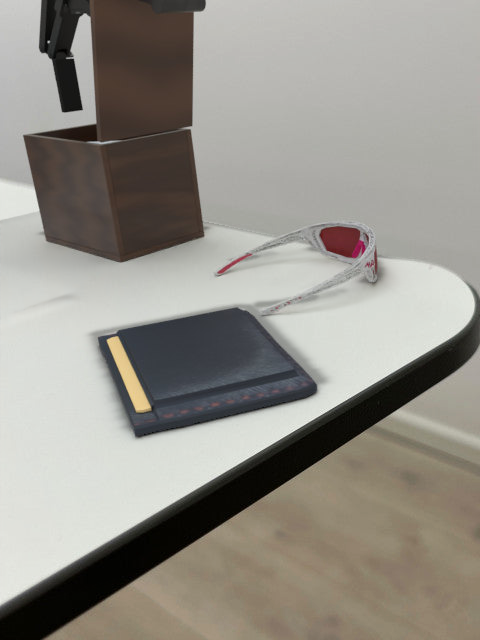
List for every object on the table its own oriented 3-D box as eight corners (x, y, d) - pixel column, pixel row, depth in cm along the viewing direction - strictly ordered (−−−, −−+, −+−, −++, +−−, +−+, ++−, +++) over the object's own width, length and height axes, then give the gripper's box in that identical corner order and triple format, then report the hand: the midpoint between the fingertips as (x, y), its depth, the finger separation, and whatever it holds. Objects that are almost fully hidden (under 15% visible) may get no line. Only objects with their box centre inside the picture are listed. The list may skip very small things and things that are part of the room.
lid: (87, -35, 80) (130, -21, 76) (190, -34, 89) (232, -22, 86) (97, 140, 90) (135, 159, 86) (188, 124, 99) (226, 141, 96)
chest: (46, 241, 106) (22, 134, 100) (128, 219, 115) (111, 120, 109) (120, 262, 96) (99, 145, 90) (204, 236, 105) (191, 129, 99)
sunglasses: (411, 284, 84) (403, 241, 81) (271, 343, 78) (259, 299, 76) (340, 246, 98) (332, 209, 95) (217, 294, 92) (205, 255, 89)
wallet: (319, 374, 61) (122, 418, 55) (320, 395, 61) (126, 440, 56) (250, 296, 77) (94, 324, 72) (252, 314, 78) (98, 342, 73)
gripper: (-13, -68, 94) (24, 111, 103) (105, -84, 80) (135, 126, 89) (43, -66, 99) (73, 105, 109) (163, -80, 85) (186, 118, 94)
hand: (101, 115), depth 99 cm, fingers open, 13 cm apart
